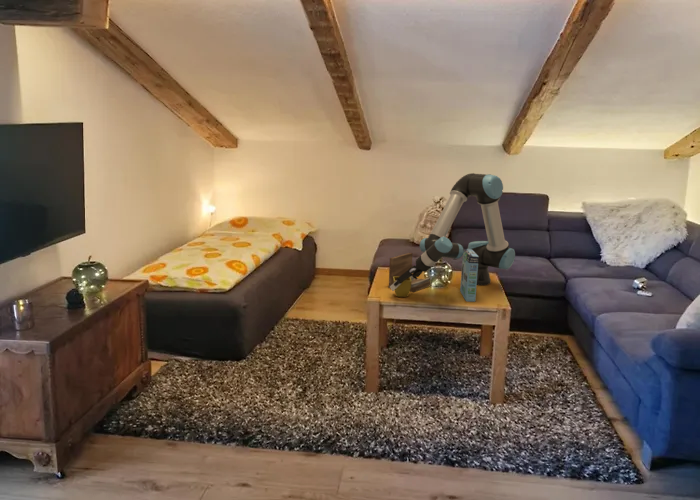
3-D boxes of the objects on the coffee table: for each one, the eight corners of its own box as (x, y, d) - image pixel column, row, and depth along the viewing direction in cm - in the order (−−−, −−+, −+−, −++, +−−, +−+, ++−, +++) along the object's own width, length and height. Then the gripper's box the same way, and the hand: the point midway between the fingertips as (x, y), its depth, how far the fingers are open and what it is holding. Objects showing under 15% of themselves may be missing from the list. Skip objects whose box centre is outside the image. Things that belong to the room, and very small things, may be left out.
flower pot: (411, 298, 305) (411, 280, 304) (393, 297, 305) (394, 280, 304) (409, 293, 314) (410, 276, 312) (392, 293, 314) (393, 276, 312)
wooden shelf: (431, 285, 333) (433, 256, 330) (413, 292, 317) (414, 262, 314) (408, 280, 342) (409, 252, 339) (388, 287, 326) (389, 258, 323)
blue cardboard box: (460, 291, 321) (462, 248, 317) (469, 292, 321) (472, 249, 316) (465, 301, 302) (468, 256, 297) (476, 302, 302) (479, 256, 297)
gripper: (418, 271, 288) (389, 297, 300) (442, 263, 307) (414, 288, 319) (408, 258, 290) (380, 284, 302) (433, 251, 309) (406, 276, 321)
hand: (398, 286), depth 310 cm, fingers closed on flower pot, 12 cm apart
